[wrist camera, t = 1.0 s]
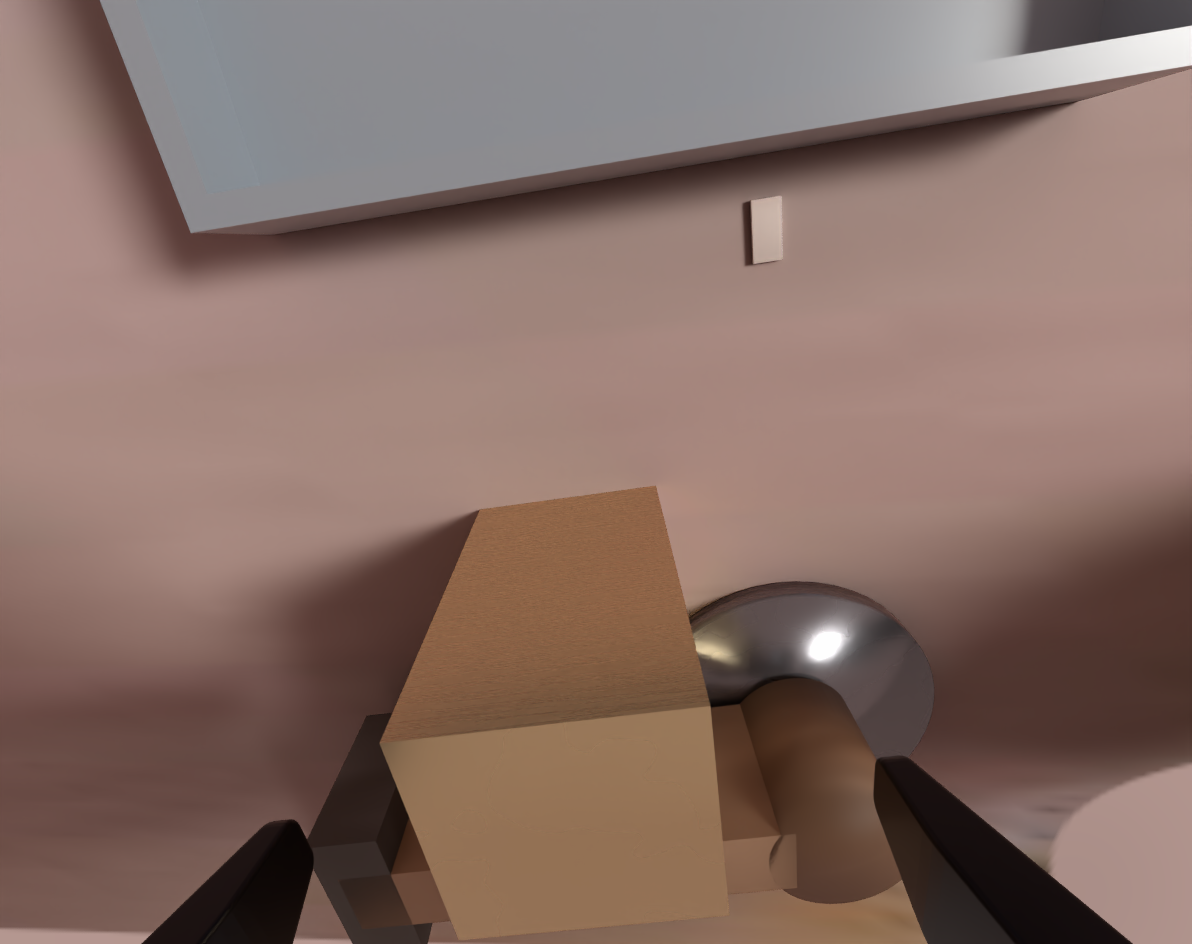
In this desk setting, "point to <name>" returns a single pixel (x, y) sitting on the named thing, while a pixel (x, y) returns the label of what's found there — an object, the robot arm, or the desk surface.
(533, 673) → the stop block
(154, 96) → the stop tray
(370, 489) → the desk surface
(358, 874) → the crank lever
